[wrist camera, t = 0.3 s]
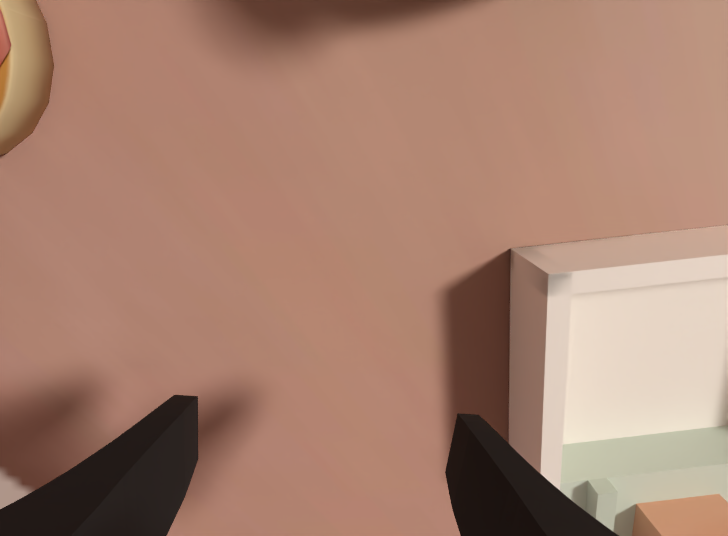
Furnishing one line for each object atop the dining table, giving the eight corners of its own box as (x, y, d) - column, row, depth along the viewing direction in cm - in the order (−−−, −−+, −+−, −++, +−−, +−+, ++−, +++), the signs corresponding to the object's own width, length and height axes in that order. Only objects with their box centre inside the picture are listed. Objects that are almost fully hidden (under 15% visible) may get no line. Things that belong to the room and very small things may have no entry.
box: (776, 414, 25) (855, 465, 21) (508, 445, 24) (539, 503, 21) (824, 214, 21) (932, 231, 17) (510, 248, 21) (548, 274, 17)
